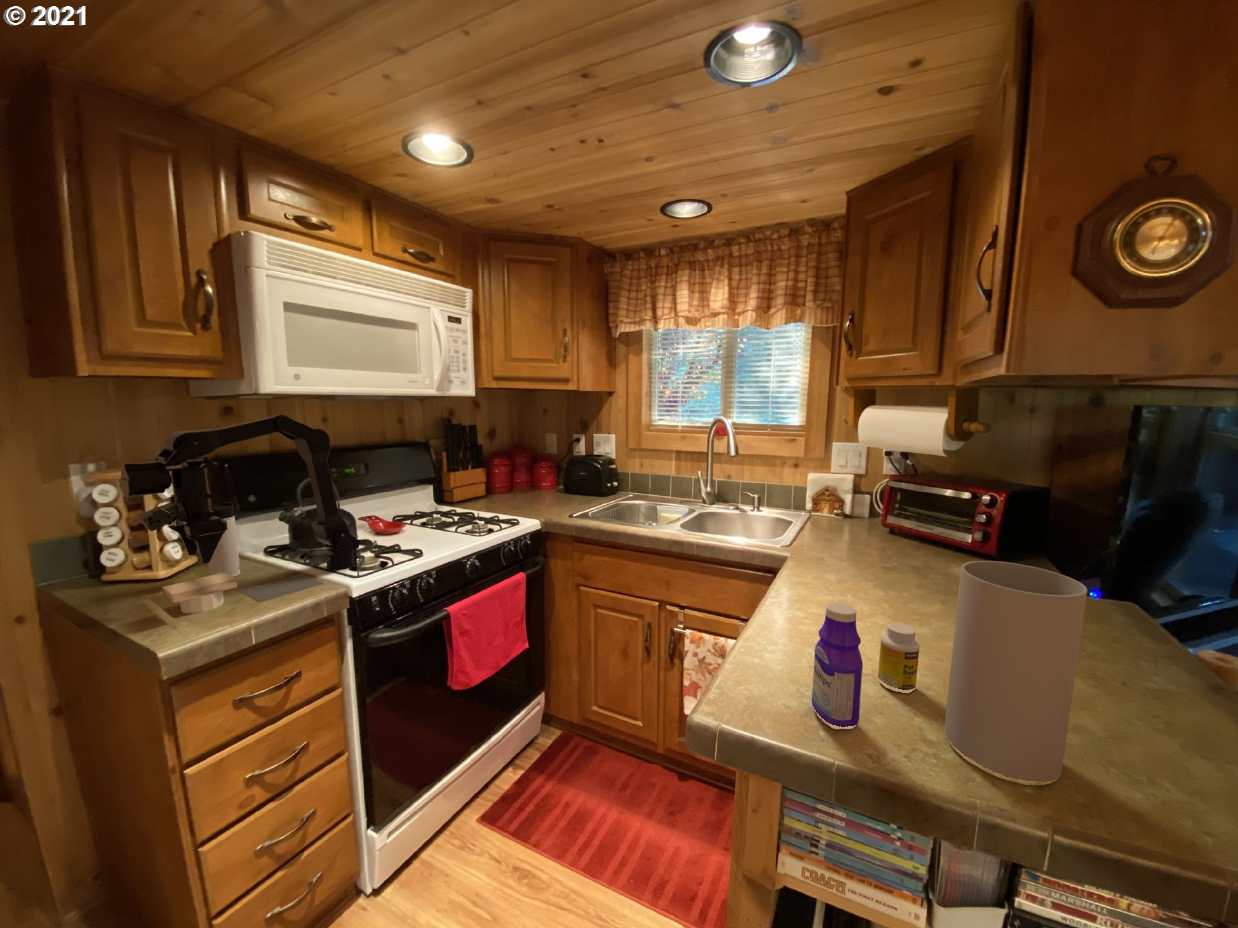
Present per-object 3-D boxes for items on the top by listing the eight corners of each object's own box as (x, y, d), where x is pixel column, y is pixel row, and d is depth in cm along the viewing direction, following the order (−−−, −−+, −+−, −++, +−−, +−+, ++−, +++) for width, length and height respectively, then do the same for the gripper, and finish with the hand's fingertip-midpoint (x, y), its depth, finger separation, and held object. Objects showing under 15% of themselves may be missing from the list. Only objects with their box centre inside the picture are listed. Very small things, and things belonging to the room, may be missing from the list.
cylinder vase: (973, 782, 61) (994, 592, 57) (927, 718, 73) (943, 558, 70) (1087, 796, 59) (1116, 600, 55) (1020, 727, 71) (1041, 563, 67)
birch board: (225, 580, 114) (224, 572, 114) (237, 586, 110) (236, 578, 110) (163, 595, 105) (162, 586, 105) (173, 603, 101) (172, 594, 101)
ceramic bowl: (217, 601, 113) (215, 582, 113) (228, 608, 109) (226, 589, 109) (177, 612, 107) (175, 592, 107) (188, 620, 103) (185, 600, 103)
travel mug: (248, 574, 130) (240, 502, 127) (226, 584, 124) (217, 507, 121) (226, 573, 131) (219, 501, 128) (203, 583, 124) (194, 506, 121)
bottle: (804, 703, 76) (810, 598, 74) (838, 702, 77) (846, 597, 74) (827, 735, 69) (836, 620, 67) (865, 733, 69) (875, 618, 67)
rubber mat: (302, 577, 129) (302, 573, 128) (324, 587, 122) (324, 583, 122) (239, 594, 117) (239, 590, 117) (259, 606, 110) (259, 602, 110)
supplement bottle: (902, 699, 77) (908, 639, 76) (870, 681, 82) (875, 624, 81) (922, 689, 80) (928, 631, 79) (890, 672, 85) (894, 617, 84)
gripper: (128, 490, 103) (137, 560, 106) (153, 501, 93) (163, 578, 95) (194, 483, 113) (202, 548, 115) (224, 492, 102) (232, 563, 104)
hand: (199, 558), depth 107 cm, fingers open, 9 cm apart
